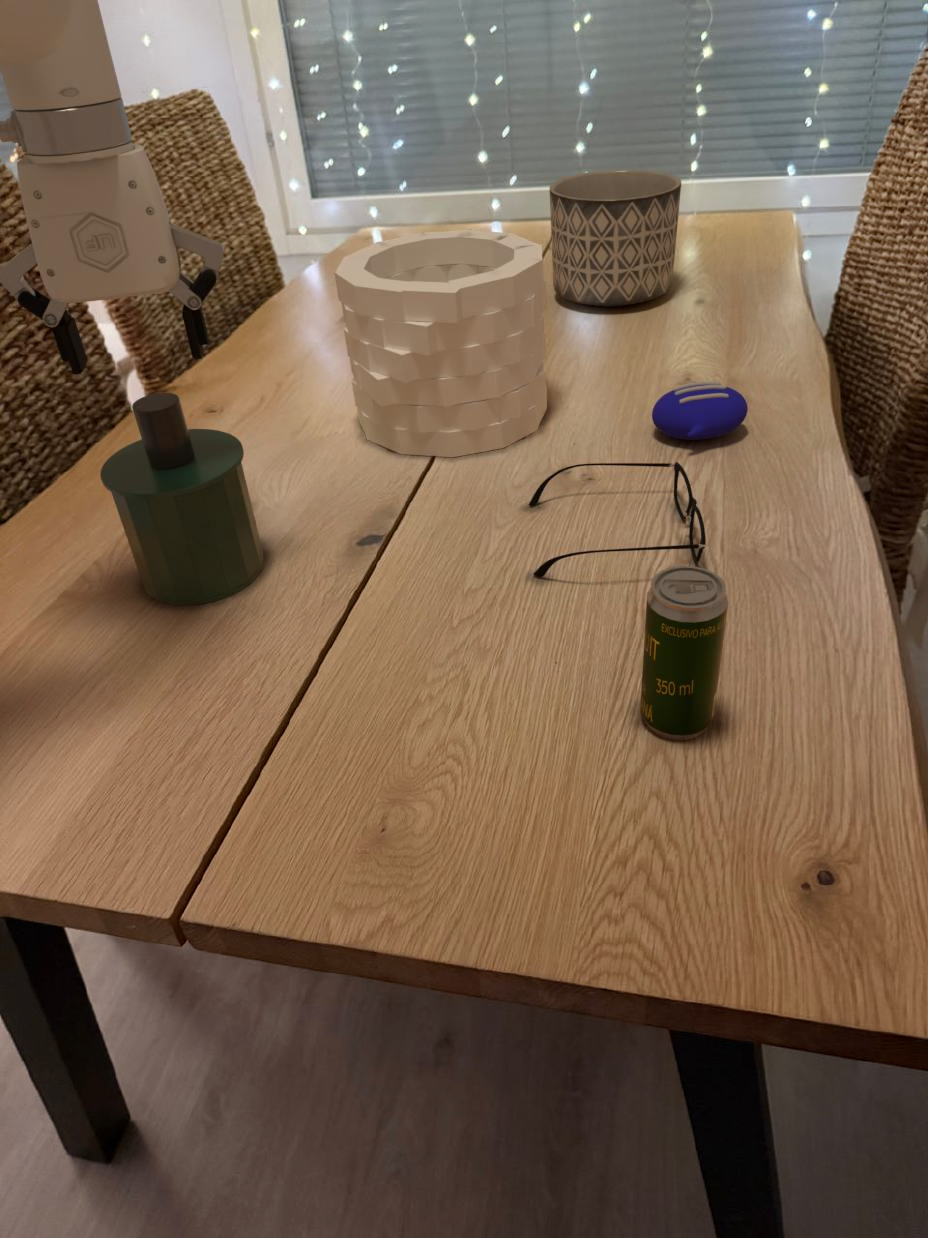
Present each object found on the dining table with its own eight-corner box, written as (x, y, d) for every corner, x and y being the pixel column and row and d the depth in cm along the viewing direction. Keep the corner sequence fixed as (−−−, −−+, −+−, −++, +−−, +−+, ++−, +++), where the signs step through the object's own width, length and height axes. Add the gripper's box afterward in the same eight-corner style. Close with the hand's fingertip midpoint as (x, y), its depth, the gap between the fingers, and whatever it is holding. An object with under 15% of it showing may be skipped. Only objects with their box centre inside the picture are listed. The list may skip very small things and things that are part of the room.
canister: (118, 596, 87) (79, 488, 80) (186, 532, 96) (156, 431, 89) (224, 613, 84) (192, 503, 77) (284, 546, 92) (261, 441, 85)
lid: (74, 496, 81) (48, 427, 77) (157, 434, 90) (138, 369, 86) (196, 512, 77) (176, 440, 73) (270, 445, 86) (255, 377, 82)
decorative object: (657, 397, 98) (652, 373, 107) (652, 450, 101) (648, 422, 110) (758, 399, 97) (745, 375, 106) (750, 453, 100) (739, 425, 108)
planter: (681, 278, 150) (689, 168, 140) (664, 318, 136) (671, 199, 126) (566, 275, 156) (565, 169, 146) (538, 314, 142) (535, 199, 132)
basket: (394, 372, 127) (377, 228, 116) (565, 379, 121) (564, 228, 109) (324, 455, 108) (295, 292, 97) (523, 469, 102) (517, 296, 90)
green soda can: (705, 692, 71) (720, 561, 64) (720, 741, 66) (738, 607, 59) (634, 695, 71) (641, 566, 64) (645, 744, 67) (654, 612, 60)
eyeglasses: (710, 579, 83) (714, 541, 80) (534, 587, 83) (533, 550, 81) (679, 489, 96) (682, 454, 93) (527, 497, 97) (526, 463, 94)
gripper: (-63, 152, 63) (24, 391, 73) (194, 127, 65) (244, 363, 75) (-35, 136, 69) (41, 359, 79) (199, 113, 71) (244, 333, 81)
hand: (140, 361), depth 77 cm, fingers open, 9 cm apart
